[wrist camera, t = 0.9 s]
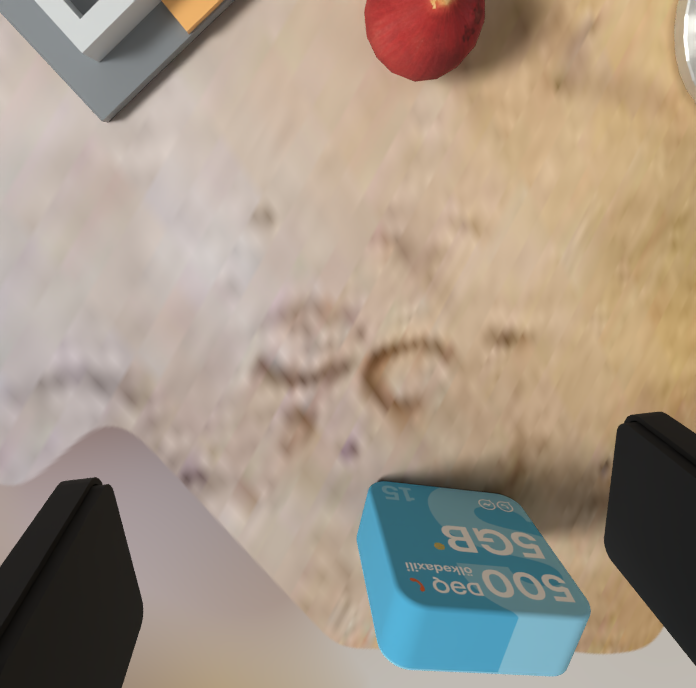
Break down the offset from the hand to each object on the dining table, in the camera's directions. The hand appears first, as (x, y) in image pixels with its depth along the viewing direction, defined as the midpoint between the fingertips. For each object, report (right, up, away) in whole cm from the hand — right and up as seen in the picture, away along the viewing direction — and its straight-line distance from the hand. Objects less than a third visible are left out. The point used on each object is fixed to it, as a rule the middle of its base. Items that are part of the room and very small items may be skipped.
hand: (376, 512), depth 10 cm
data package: (+6, -10, +31) cm, 33 cm away
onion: (+3, +21, +20) cm, 29 cm away
